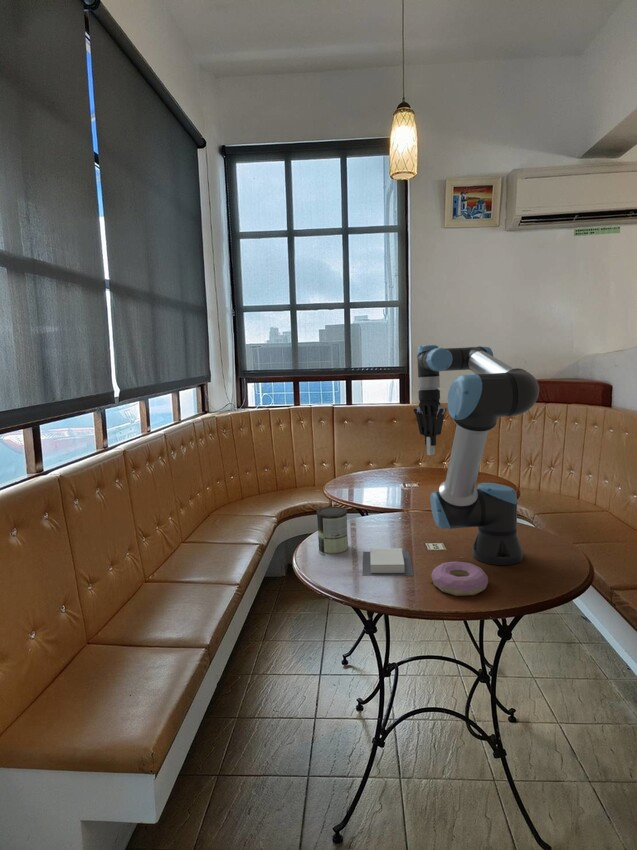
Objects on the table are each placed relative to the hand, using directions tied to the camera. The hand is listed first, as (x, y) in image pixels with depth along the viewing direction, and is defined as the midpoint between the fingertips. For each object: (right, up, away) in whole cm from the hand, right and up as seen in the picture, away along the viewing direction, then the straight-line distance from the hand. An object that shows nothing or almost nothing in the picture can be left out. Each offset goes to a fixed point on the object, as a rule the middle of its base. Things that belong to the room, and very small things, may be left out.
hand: (430, 454), depth 182 cm
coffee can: (-35, -33, -9) cm, 49 cm away
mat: (-19, -33, -23) cm, 45 cm away
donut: (-1, -35, -40) cm, 53 cm away
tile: (-19, -31, -19) cm, 40 cm away
